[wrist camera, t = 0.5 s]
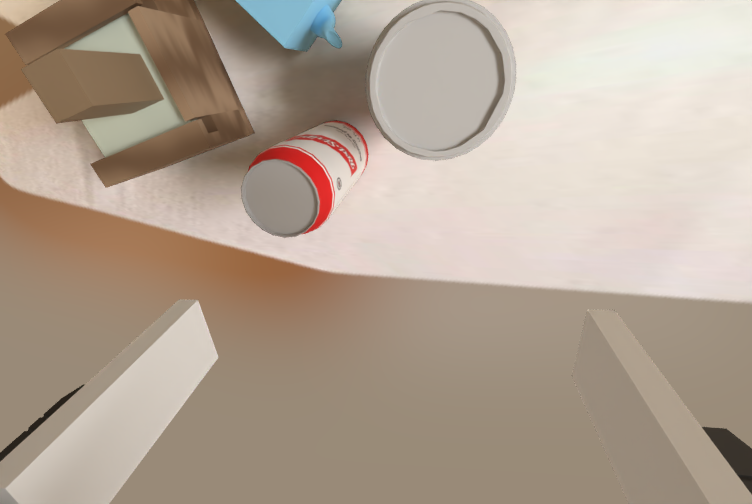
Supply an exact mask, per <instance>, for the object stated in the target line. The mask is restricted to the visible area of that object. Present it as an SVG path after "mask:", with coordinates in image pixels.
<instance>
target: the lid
mask: <svg viewBox="0 0 752 504" xmlns="http://www.w3.org/2000/svg"><path fill="white" fill-rule="evenodd" d="M21 70H22V72H23V73H24V75H25V76H26V78H27V79H28V81H29V82H30V84H31V85H32V87H33V88H34V90H35V92H36V93H37V95H38V96H39V98H40V99H41V101H42V102H43V104H44V105H45V107H46V108H47V110H48V111H49V113H50V114H51V116H52V117H53V119H54V120H55V122H56V123H63V122H70V121H78V120H82V122H83V124H84V125H85V127H86V128H87V130H88V131H89V133H90V135H91V136H92V138H93V139H94V141H95V143H96V144H97V146H98V147H99V149H100V150H101V152H102V154H103V155H104V157H105V158H106V157H108V156H111V155H113V154H116V153H118V152H120V151H123V150H125V149H128V148H130V147H132V146H135V145H137V144H140V143H142V142H144V141H147V140H149V139H152V138H154V137H156V136H159V135H161V134H164V133H166V132H168V131H171V130H173V129H176V128H178V127H180V126H183V125H185V124H188V123H190V122H192V121H195V120H190V121H185V120H184V118H183V116H182V114H181V113H180V111H179V109H178V107H177V105H176V103H175V101H174V99H173V97H172V95H171V93H170V92H169V90H168V88H167V86H166V84H165V82H164V80H163V78H162V76H161V74H160V72H159V71H158V69H157V67H156V65H155V63H154V61H153V59H152V57H151V55H150V53H149V52H148V50H147V48H146V46H145V44H144V42H143V40H142V38H141V36H140V34H139V32H138V31H137V29H136V27H135V25H134V23H133V21H132V19H131V17H130V15H129V13H127V14H125V15H123V16H122V17H120V18H118V19H116V20H114V21H113V22H111V23H109V24H107V25H105V26H104V27H102V28H100V29H98V30H96V31H95V32H93V33H91V34H89V35H87V36H86V37H84V38H82V39H80V40H78V41H77V42H75V43H73V44H71V45H69V46H68V47H66V48H64V49H56V50H55V51H53V52H51V53H49V54H47V55H46V56H44V57H42V58H40V59H38V60H37V61H35V62H33V63H31V64H29V65H28V66H26V67H24V68H23V69H21ZM196 120H197V119H196Z"/></svg>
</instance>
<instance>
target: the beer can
mask: <svg viewBox="0 0 752 504" xmlns="http://www.w3.org/2000/svg"><path fill="white" fill-rule="evenodd" d="M367 161H368V149H367V144H366V142H365V140H364V138H363V136H362V134H361V133H360V132H359V131H358V130H357V129H356V128H355V127H353V126H352V125H350V124H348V123H346V122H341V121H330V122H325V123H323V124H321V125H318V126H316V127H314V128H312V129H309V130H307V131H305V132H303V133H300V134H298V135H296V136H294V137H291V138H289V139H287V140H285V141H282V142H280V143H278V144H276V145H273V146H271V147H270V148H268V149H266V150H264V151H263V152H261V153H259V155H258V156H257V157H256V158H255V160H254V161H253V162H252V163H251V165H250V166H249V170H248V173H247V174H246V175H245V177H244V180H243V183H242V186H241V193H242V201H243V204H244V207H245V210H246V212H247V214H248V215H249V217H250V218H251V220H252V221H253V222H254V223H255V224H256V225H257V226H259V227H260V228H261V229H262V230H264V231H266V232H268V233H270V234H272V235H275V236H279V237H284V238H285V237H296V236H298V235H300V234H306V233H308V232H311V231H313V230H315V229H317V228H319V227H320V226H321V225H322V224H323V223H324V222H325V221H327V220H328V219H329V217H330V216H331V215H332V213H333V212H334V211H335V209H336V208H337V207H338V205H339V204H340V203H341V201H342V200H343V199H344V197H345V196H346V195H347V193H348V192H349V191H350V189H351V188H352V187H353V185H354V184H355V183H356V181H357V180H358V179H359V177H360V176H361V175H362V173H363V171H364V169H365V167H366V165H367Z"/></svg>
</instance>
